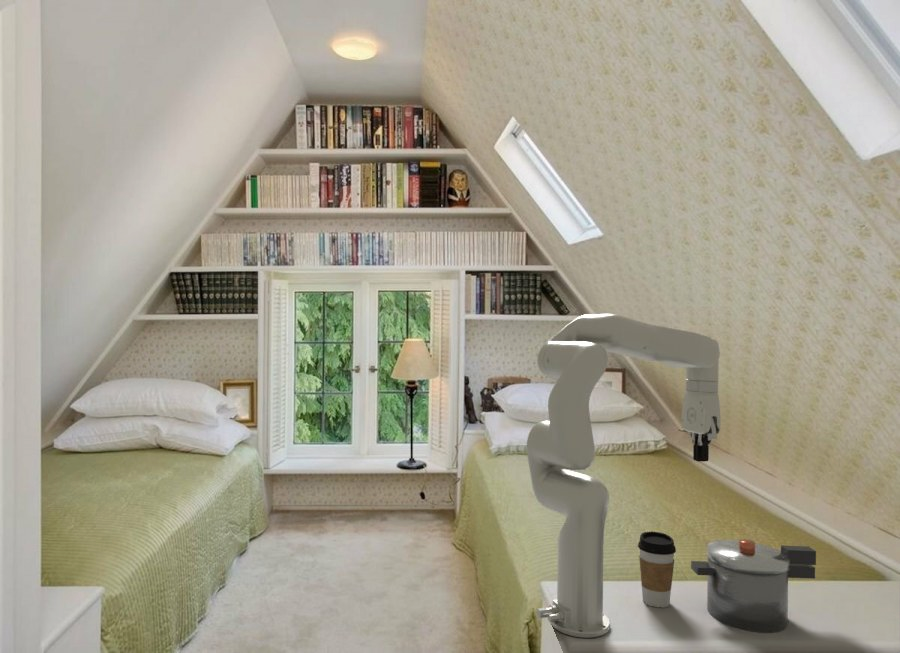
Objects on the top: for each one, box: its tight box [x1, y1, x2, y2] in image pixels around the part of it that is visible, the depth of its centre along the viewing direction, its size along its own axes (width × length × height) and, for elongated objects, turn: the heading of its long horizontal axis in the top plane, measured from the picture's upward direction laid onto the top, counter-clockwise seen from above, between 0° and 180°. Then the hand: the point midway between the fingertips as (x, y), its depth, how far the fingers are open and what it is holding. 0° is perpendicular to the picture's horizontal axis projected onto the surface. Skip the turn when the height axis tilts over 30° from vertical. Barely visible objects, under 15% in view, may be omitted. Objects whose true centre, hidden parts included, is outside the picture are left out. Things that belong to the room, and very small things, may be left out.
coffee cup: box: [637, 531, 677, 608], centre depth 139 cm, size 8×8×15 cm
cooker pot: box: [690, 557, 816, 634], centre depth 133 cm, size 26×16×12 cm, turn 88°
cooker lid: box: [705, 538, 817, 574], centre depth 133 cm, size 22×17×4 cm
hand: (700, 460), depth 150 cm, fingers closed
